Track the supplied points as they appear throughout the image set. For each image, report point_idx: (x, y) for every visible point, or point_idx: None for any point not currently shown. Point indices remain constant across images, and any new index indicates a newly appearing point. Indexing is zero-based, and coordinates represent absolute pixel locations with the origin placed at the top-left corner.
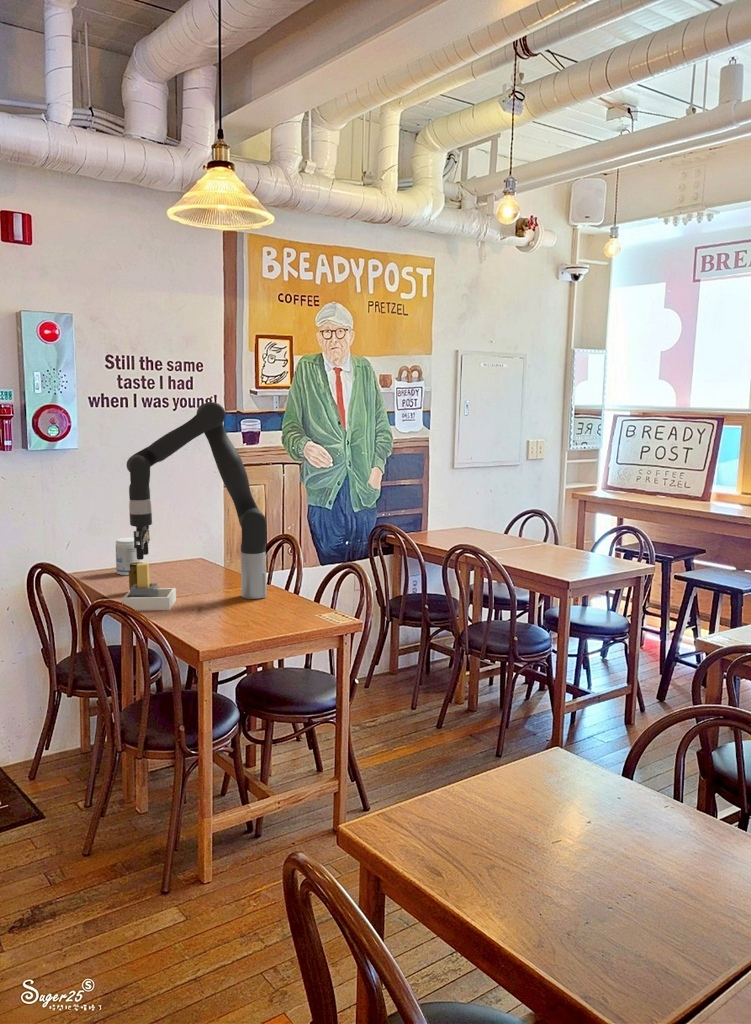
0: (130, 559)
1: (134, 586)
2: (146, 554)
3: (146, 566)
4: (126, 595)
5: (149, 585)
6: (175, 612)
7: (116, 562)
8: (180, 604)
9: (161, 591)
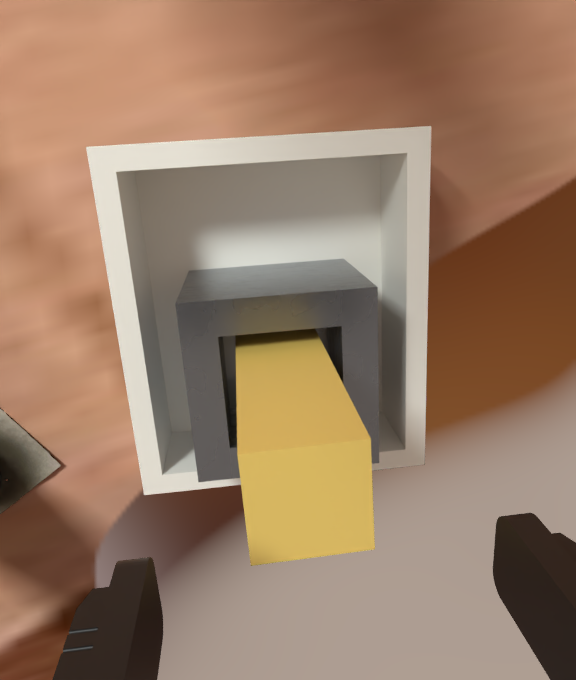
0: None
1: None
2: (153, 572)
3: (368, 436)
4: None
5: (243, 352)
6: (419, 81)
7: None
8: (197, 94)
9: (135, 266)
